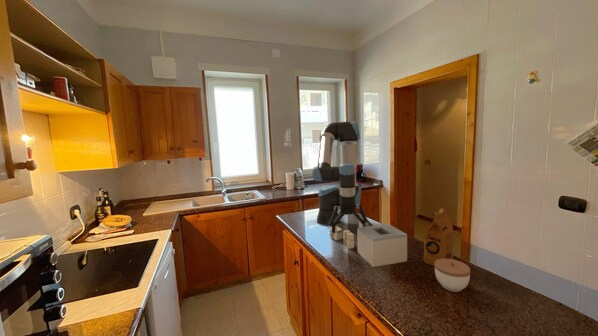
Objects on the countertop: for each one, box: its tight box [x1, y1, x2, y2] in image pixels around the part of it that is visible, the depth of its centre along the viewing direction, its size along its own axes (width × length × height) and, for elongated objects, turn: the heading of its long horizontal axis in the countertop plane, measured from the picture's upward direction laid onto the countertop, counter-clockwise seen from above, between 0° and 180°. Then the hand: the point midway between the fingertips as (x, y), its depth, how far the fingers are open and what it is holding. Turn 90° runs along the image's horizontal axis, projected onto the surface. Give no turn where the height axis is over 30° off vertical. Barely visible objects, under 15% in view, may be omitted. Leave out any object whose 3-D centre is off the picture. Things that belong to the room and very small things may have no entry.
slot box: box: [356, 223, 408, 268], centre depth 109 cm, size 14×16×12 cm
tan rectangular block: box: [342, 229, 355, 249], centre depth 122 cm, size 6×3×7 cm, turn 13°
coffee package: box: [423, 208, 454, 267], centre depth 102 cm, size 10×12×22 cm
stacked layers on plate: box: [329, 225, 343, 241], centre depth 133 cm, size 10×9×6 cm
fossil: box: [364, 220, 374, 227], centre depth 134 cm, size 11×9×10 cm
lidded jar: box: [434, 258, 472, 293], centre depth 85 cm, size 11×11×9 cm
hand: (348, 237), depth 121 cm, fingers open, 13 cm apart
